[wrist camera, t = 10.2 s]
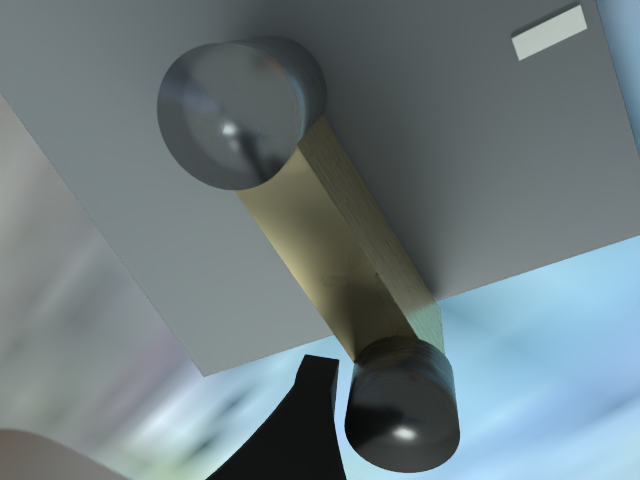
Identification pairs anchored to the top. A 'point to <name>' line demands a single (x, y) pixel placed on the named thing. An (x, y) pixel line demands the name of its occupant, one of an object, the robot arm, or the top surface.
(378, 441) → the crank
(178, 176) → the plate
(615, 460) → the top surface
